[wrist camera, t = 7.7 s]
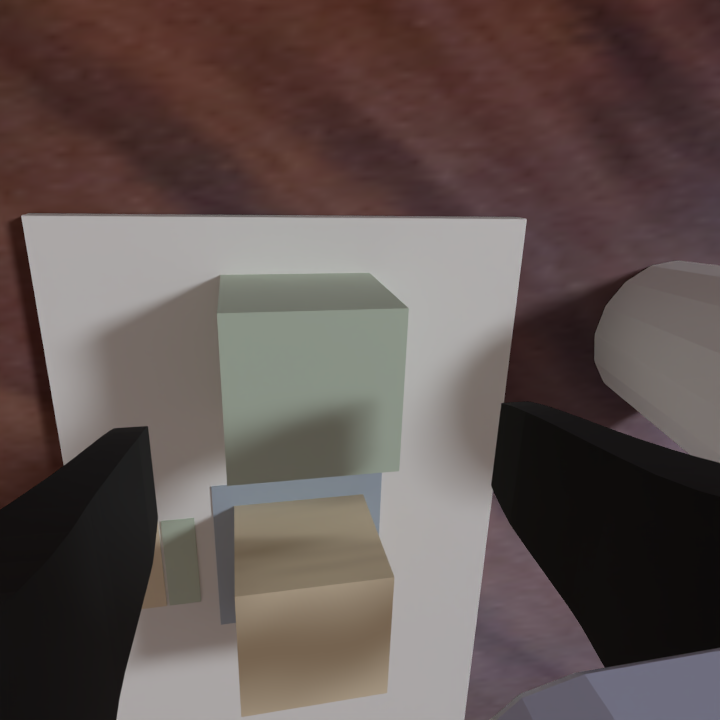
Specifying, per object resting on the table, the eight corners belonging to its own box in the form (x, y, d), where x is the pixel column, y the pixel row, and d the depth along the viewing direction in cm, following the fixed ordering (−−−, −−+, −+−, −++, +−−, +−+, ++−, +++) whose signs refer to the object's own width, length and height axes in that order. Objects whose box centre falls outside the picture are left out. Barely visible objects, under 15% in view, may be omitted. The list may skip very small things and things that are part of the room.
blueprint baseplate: (456, 730, 27) (462, 743, 27) (124, 792, 24) (121, 809, 24) (518, 217, 19) (528, 219, 18) (28, 213, 16) (19, 215, 15)
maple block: (359, 594, 22) (387, 692, 18) (239, 610, 21) (241, 716, 17) (363, 494, 21) (394, 577, 17) (234, 505, 20) (234, 596, 16)
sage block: (364, 405, 20) (399, 471, 16) (228, 413, 19) (226, 486, 15) (369, 272, 18) (409, 308, 14) (220, 275, 17) (216, 313, 13)
